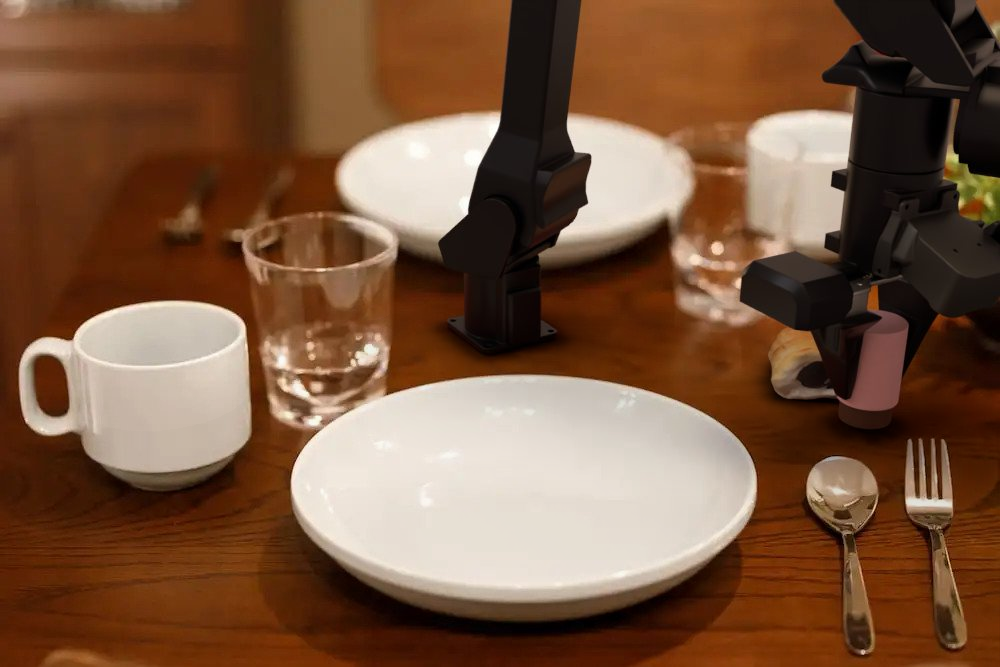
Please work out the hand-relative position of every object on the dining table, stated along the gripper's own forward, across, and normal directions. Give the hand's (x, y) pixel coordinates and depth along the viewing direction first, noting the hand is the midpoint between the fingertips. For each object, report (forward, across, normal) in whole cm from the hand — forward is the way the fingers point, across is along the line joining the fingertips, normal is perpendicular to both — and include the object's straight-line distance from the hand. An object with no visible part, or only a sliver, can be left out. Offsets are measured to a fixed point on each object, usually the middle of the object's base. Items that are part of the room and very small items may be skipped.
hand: (867, 390), depth 86 cm
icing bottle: (+2, 0, 0) cm, 2 cm away
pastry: (+3, +2, +7) cm, 8 cm away
